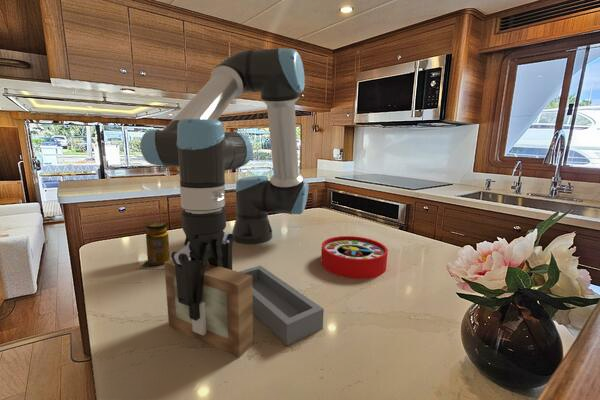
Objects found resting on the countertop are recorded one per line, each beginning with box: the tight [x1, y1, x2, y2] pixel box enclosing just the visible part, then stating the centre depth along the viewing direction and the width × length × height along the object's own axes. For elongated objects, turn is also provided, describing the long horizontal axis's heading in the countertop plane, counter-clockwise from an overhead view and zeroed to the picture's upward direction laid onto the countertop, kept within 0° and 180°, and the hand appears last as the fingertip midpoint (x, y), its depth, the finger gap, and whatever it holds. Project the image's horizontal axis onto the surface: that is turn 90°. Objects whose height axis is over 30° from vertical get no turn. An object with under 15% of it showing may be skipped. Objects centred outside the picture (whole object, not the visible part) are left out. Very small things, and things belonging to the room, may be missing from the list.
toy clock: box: [320, 235, 389, 280], centre depth 94 cm, size 20×6×20 cm
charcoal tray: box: [238, 265, 325, 347], centre depth 69 cm, size 25×9×4 cm, turn 38°
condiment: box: [138, 221, 172, 270], centre depth 90 cm, size 7×8×12 cm
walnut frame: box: [164, 259, 254, 358], centre depth 58 cm, size 18×4×14 cm, turn 63°
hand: (208, 324), depth 59 cm, fingers closed on walnut frame, 4 cm apart
